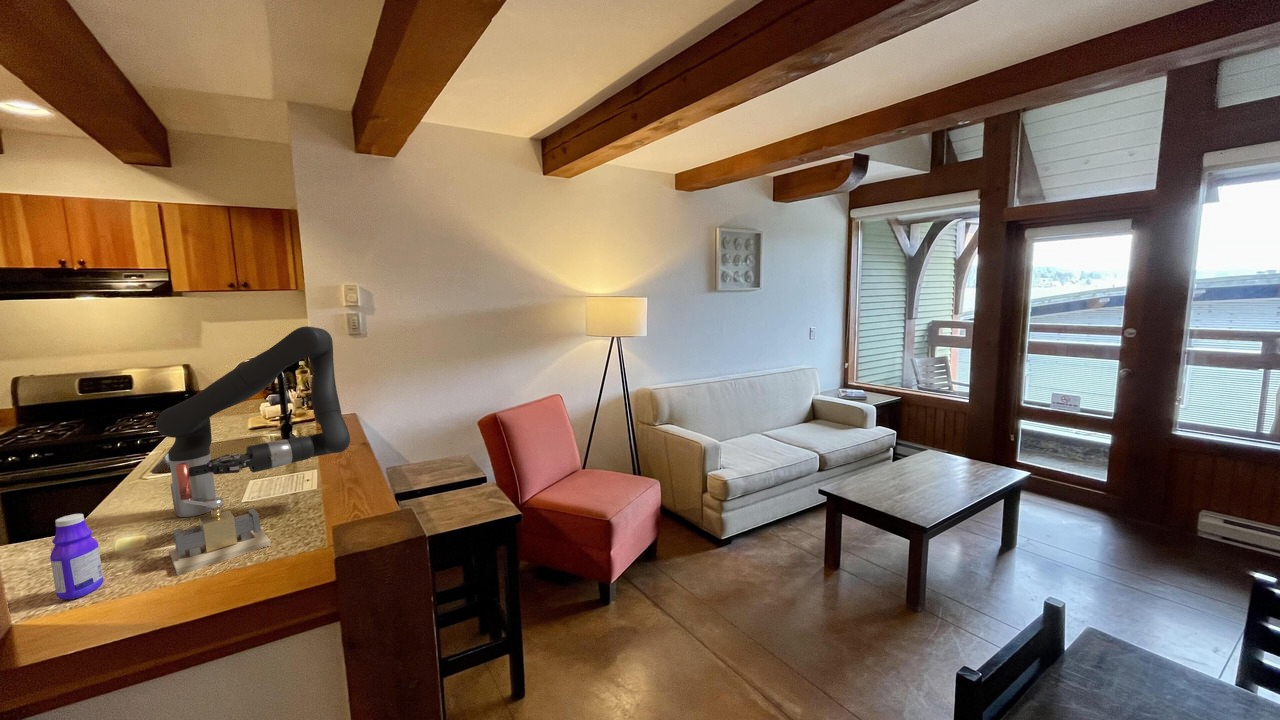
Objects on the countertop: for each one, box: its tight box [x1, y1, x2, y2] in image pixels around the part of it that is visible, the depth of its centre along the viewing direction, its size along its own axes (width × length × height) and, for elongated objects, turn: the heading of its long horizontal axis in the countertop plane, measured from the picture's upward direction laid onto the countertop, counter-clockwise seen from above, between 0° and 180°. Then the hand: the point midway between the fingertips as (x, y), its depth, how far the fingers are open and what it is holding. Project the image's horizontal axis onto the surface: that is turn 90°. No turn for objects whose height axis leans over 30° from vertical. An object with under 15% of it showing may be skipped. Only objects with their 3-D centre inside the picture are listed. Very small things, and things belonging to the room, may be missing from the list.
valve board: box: [168, 528, 272, 576], centre depth 127 cm, size 18×14×2 cm
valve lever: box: [175, 463, 224, 510], centre depth 127 cm, size 3×13×10 cm, turn 74°
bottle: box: [49, 513, 104, 600], centre depth 109 cm, size 7×6×17 cm
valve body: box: [172, 507, 262, 557], centre depth 127 cm, size 16×6×10 cm, turn 138°
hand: (188, 472), depth 129 cm, fingers closed
